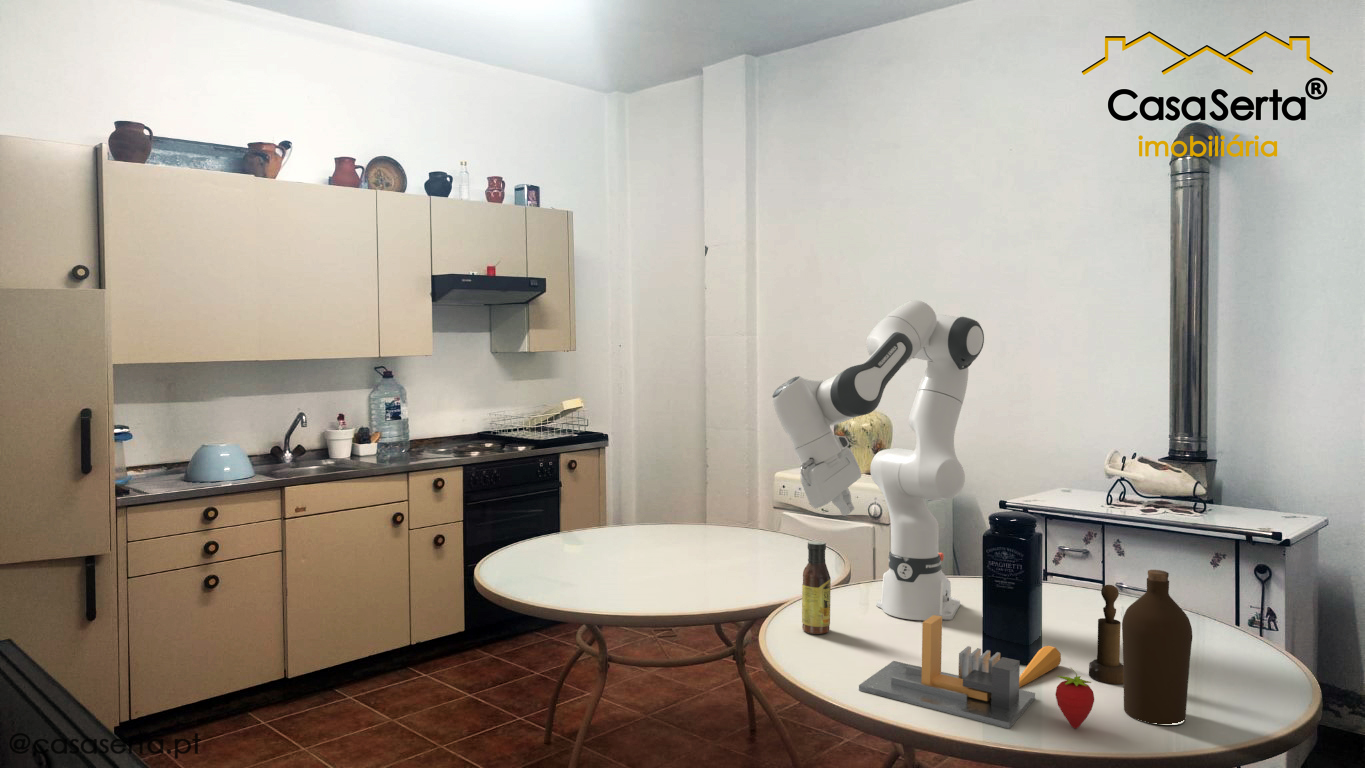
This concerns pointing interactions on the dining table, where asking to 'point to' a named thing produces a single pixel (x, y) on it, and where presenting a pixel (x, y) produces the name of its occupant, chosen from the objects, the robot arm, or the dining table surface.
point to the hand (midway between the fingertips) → (849, 512)
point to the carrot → (1040, 664)
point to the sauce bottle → (816, 591)
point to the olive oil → (1156, 655)
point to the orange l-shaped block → (933, 662)
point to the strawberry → (1074, 699)
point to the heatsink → (976, 674)
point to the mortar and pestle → (1108, 643)
